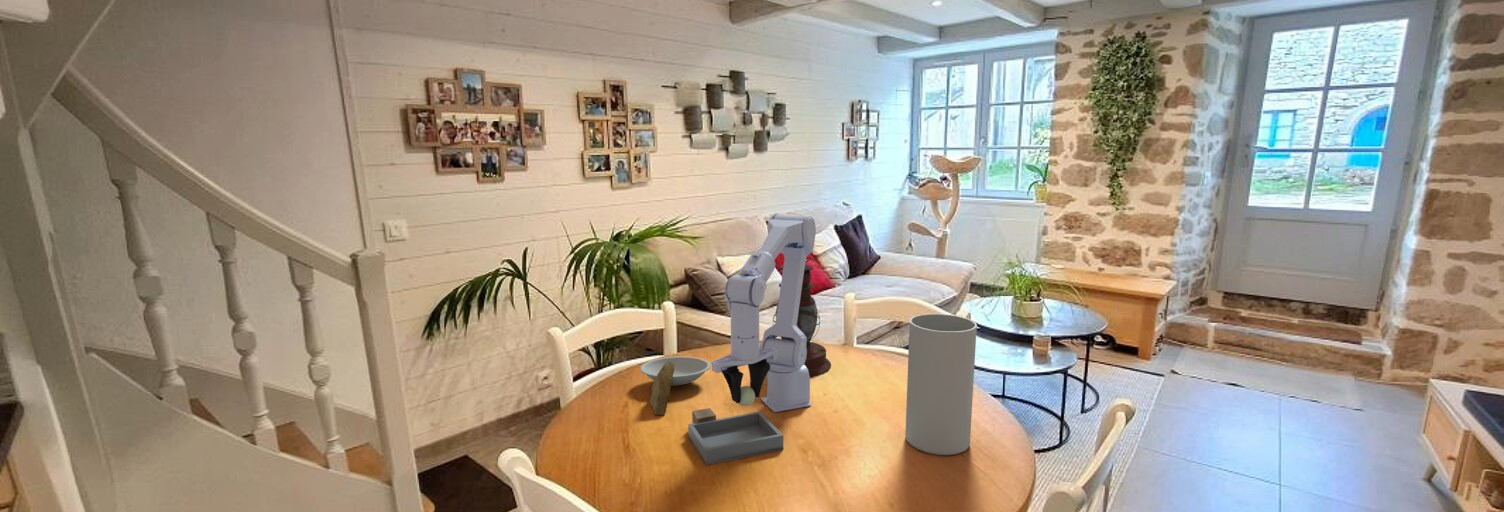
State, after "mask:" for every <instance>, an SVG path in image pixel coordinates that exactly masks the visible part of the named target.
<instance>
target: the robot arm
mask: <svg viewBox="0 0 1504 512" xmlns="http://www.w3.org/2000/svg"><path fill="white" fill-rule="evenodd" d="M816 233H817V227H816V222H815V218H814V217H813V216H812V215H810V214H808V215H797V214H796V215H795V214H794V215H793V214H778V213H773V214H772V215H771V216H770V218H768V222H767V236H766V238H765V239H764V242H763V244H762V246H761V248H760V250H756V251H754V252H752V253H751V254H750V256H749V257H748V258H747V260H746V262H745V263H744V264H743V266H742V268H741V269H740V271H739V272H738V274H734V275H732V276H731V277H729V278H728V279H727V281H726V283H725V289H724V292H723V293H724V294H723V295H724V299H725V301H726V303H727V311H728V312H729V313H730V354H727V355H724V356H722V357H720V358H718V359H715V360H712V361H711V371H712V372H714V373H716V374H719V373H722V375H723V377H724V379H725V381H726V384H727V386H728V388H729V391H730V395H731V400H732V401H733V402H734V403H736V404H739V403H740V401H741V387H742V382H743V377H744V373H743V372H741V371H740V368H739V367H743V366H747V367H748V372H749V384H750V385H749V387H751V388H752V389H753V390H754V392H755V399H758V398H760V394H761V390H762V387H763V384H764V381H765V379H766V376H767V380H766V381H767V383H766V384H767V396H763V397H761V398H760V399H761V401H762V402H763V403H764V404H765V406H767V407H768V408H769V409H770V410H772V412H773V413H777V412H779V413H780V412H784V411H790V410H795V409H796V410H797V409H801V408H805V407H811V406H812V403H811V397H810V396H811V377H810V376H809V372H808V369H807V367H806V366H805V365H804V363H805V361H806V356H807V348H806V342H807V339H806V336H805V335H804V333H803V332H802V331H801V330H800V329H799V328H798V327H797V319H798V311H799V304H800V297H801V290H802V283H803V276H804V269H805V265H806V263H807V262H806V261H807V259H806V258H807V256H808V255H810V254H812V253H813V251H814V246H815V241H816V240H815V239H816ZM780 254H783V257H784V260H783V265H784V267H783V270H782V275H781V282H780V284H781V287H779V288H780V290H779V296H778V300H779V301H777V304H778V308H777V307H776V308H777V315H776V314H775V315H776V316H775V321H776V322H774V323H773V324H772V325H771V326H770V327H768V328H767V329H765V330H764V332H763V336H762V340H761V342H760V305H761V304H762V302H763V300H764V297H765V292H766V289H767V282H768V280H769V279H770V277H771V275H772V273H773V272H774V271H775V270H776V262H775V260H776V258H777V257H778V256H779V255H780ZM805 262H806V263H805ZM778 337H779V338H778ZM781 337H787V338H793V339H794V340H795V341H793V340H786V339H781Z"/></svg>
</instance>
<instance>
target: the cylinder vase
mask: <svg viewBox="0 0 1504 512" xmlns="http://www.w3.org/2000/svg"><path fill="white" fill-rule="evenodd" d="M977 328H978V327H977V323H976V322H975V321H973V320H972V319H970V318H967V317H963V316H960V315H959V316H958V315H956V314H955V315H953V314H944V313H924V314H919V315H915V316H912V317H910V319H909V328H908V353H907V354H908V356H907V359H908V360H907V378H906V379H907V382H906V408H905V431H904V432H905V439H906V441H907V442H908V443H909V445H911V446H912V448H915V449H917V450H919V451H921V452H924V453H926V454H927V453H928V454H931V455H936V456H953V455H958V454H961V453H963V452H965V451H966V450H968V448H969V447H970V445H971V435H972V434H971V433H972V432H971V429H972V416H973V415H972V413H973V396H974V381H975V379H974V378H975V363H976V361H975V360H976V344H977V343H976V342H977Z"/></svg>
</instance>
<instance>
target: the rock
mask: <svg viewBox="0 0 1504 512" xmlns="http://www.w3.org/2000/svg"><path fill="white" fill-rule="evenodd" d="M674 368H675V365H674V364H672V363H671V362H667V363H666V364H664V365H663V367H662V369H661V370H660V371H659V373H658V375H657V376H656V380H655V381H654V380H653V383H652V386H651V396H650V401H649V403H650V406H651V408H652V410H653V411H654V412H653V413H654V414H655V416H656V415H659V416H665V415H666V412H667V408H668V403H669V399H670V392H671V391H670V390H671V387H672V385H671V383H672V378H673V373H674Z"/></svg>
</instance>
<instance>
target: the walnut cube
mask: <svg viewBox="0 0 1504 512" xmlns="http://www.w3.org/2000/svg"><path fill="white" fill-rule="evenodd" d="M691 418H692V419H691V420H692V423H691V424H693V423H698V422H704V421H709V420H715V419H717V415H716V414H715V412H714V411H713V410H712V408H711V407H708V408H701V409H695V410H692V411H691Z"/></svg>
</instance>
